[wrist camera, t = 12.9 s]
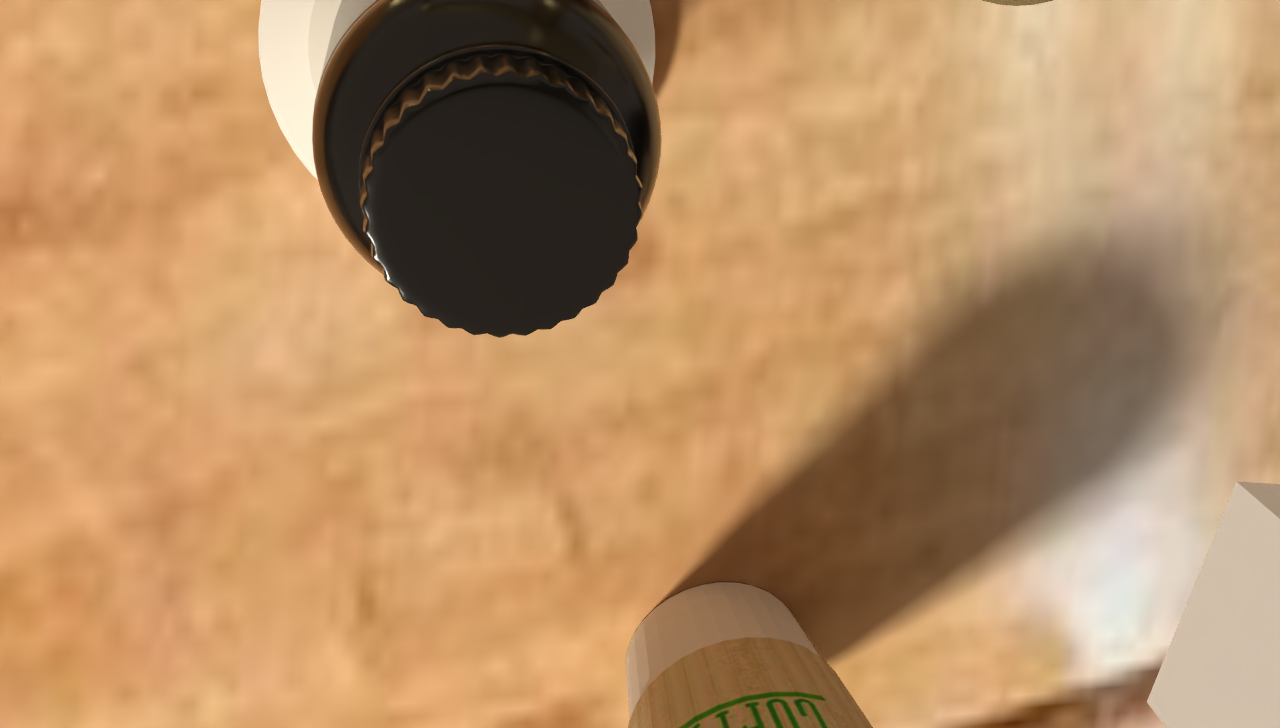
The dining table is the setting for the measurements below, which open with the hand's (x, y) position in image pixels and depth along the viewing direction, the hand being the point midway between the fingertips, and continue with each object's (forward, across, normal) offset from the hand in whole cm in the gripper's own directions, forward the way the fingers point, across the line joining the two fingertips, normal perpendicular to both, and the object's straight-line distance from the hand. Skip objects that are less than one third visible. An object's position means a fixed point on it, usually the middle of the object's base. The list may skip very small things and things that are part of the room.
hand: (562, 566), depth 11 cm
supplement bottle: (+23, 0, 0) cm, 23 cm away
